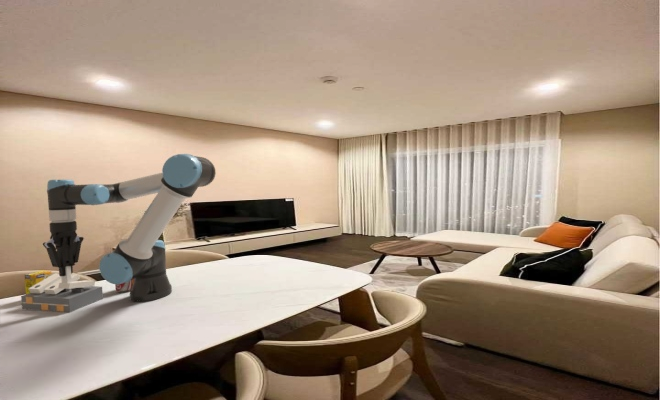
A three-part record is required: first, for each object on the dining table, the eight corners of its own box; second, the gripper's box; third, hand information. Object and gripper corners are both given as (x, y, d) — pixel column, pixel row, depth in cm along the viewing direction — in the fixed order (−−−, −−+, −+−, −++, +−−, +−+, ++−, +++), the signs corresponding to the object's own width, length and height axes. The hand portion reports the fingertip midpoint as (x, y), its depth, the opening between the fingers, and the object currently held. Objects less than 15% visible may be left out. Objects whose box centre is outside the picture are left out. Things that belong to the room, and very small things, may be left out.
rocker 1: (66, 277, 123) (64, 273, 122) (40, 293, 114) (38, 288, 113) (56, 277, 124) (54, 272, 123) (30, 292, 115) (28, 288, 114)
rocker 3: (94, 285, 120) (95, 280, 121) (68, 288, 111) (69, 282, 111) (84, 285, 121) (85, 280, 122) (58, 288, 112) (59, 282, 112)
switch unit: (102, 298, 122) (101, 283, 122) (69, 312, 109) (68, 295, 109) (58, 296, 126) (57, 281, 126) (21, 309, 113) (20, 292, 113)
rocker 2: (80, 278, 122) (78, 273, 121) (55, 294, 113) (53, 289, 112) (70, 277, 123) (68, 273, 122) (45, 293, 114) (43, 289, 113)
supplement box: (37, 302, 120) (35, 275, 120) (25, 301, 121) (23, 274, 121) (53, 296, 126) (51, 271, 125) (42, 295, 127) (40, 270, 127)
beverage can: (111, 292, 130) (109, 264, 129) (129, 286, 137) (127, 260, 137) (124, 294, 127) (122, 266, 127) (141, 287, 135) (140, 261, 134)
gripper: (72, 219, 118) (76, 278, 119) (34, 223, 106) (39, 289, 107) (88, 219, 117) (91, 278, 118) (52, 223, 104) (56, 290, 105)
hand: (66, 283), depth 112 cm, fingers closed
